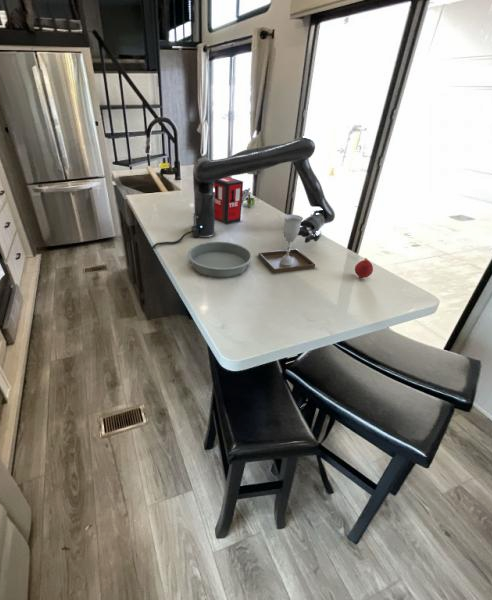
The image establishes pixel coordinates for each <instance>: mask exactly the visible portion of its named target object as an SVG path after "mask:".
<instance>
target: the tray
mask: <svg viewBox="0 0 492 600" xmlns="http://www.w3.org/2000/svg"><path fill="white" fill-rule="evenodd" d="M286 250H287V249H281V250H271V251H270V250H269V251H261V252H258V256H257V257H258V258H259V259H260V260H261V261H262V263H263V264H265V266H266V267H267V268H268V269H270V271H271V272H272V273H273V274H281V273H288V272H297V271H298V272H299V271H305V270H311V269H312V270H313V269H316V263H315V262H314V261H312V260H311V259H310V258H309V257H308V256H306V255H305V254H303V252H302V251H300V250H299V249H297V248H290V252H289V256H290V257H291V258H292V262H293V264H291V265H283V264H281V263H280V260H281V259H282V257H283V256H285V255H286V254H287V253H286Z"/></svg>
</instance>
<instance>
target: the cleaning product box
mask: <svg viewBox="0 0 492 600" xmlns="http://www.w3.org/2000/svg"><path fill="white" fill-rule="evenodd" d="M243 187H244V181H243V180H239V179H236V178H233V177H231V176H228V177H225V178H222V179H219V180H216V181H214V189H215V220H217V221H219V222H221V223H223V224H226V225H229V224H235V223H239V222H241V217H242V205H243V203H242V191H244V189H243Z"/></svg>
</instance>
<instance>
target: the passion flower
mask: <svg viewBox="0 0 492 600" xmlns="http://www.w3.org/2000/svg"><path fill="white" fill-rule="evenodd" d="M251 195H252V191H251V187H248V188H247V189H243V190H242V204H243V203H244V202H246V203H247V208H249V209H250V208H251V207H254V205H255V203H256V201H259V196H256V197H255V196H254V197H251ZM255 198H256V200H255Z"/></svg>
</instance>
